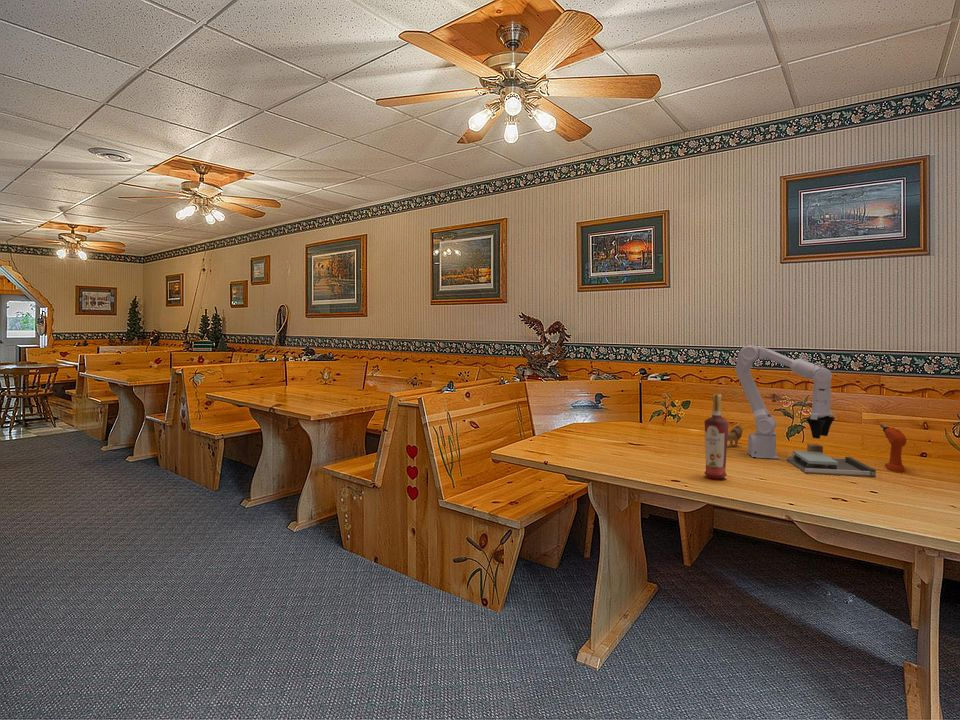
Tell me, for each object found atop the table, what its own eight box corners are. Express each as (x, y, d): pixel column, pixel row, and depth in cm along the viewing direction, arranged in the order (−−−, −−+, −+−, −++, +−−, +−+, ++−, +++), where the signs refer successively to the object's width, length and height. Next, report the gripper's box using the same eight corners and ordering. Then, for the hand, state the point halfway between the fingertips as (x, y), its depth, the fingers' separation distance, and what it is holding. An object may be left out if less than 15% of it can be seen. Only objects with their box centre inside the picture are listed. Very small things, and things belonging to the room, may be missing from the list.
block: (810, 458, 201) (811, 445, 201) (807, 456, 205) (807, 443, 205) (822, 459, 200) (822, 446, 200) (818, 457, 204) (818, 444, 204)
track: (805, 473, 180) (805, 466, 180) (786, 460, 198) (786, 454, 198) (875, 477, 175) (875, 469, 175) (849, 463, 193) (850, 456, 193)
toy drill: (886, 456, 198) (889, 418, 195) (907, 475, 181) (911, 433, 178) (870, 455, 200) (874, 417, 197) (890, 474, 182) (894, 432, 180)
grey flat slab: (808, 470, 181) (808, 460, 181) (792, 459, 196) (792, 450, 196) (838, 471, 179) (838, 462, 178) (819, 460, 194) (819, 451, 194)
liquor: (730, 477, 175) (732, 394, 173) (722, 482, 170) (724, 396, 168) (708, 473, 180) (710, 392, 179) (699, 477, 175) (701, 394, 173)
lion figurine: (735, 444, 227) (736, 424, 227) (745, 447, 222) (746, 426, 222) (709, 447, 222) (709, 426, 222) (718, 449, 217) (719, 428, 217)
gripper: (826, 403, 186) (825, 441, 187) (840, 400, 195) (839, 436, 196) (804, 401, 191) (803, 438, 192) (819, 398, 201) (818, 433, 201)
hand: (820, 436), depth 194 cm, fingers open, 7 cm apart
